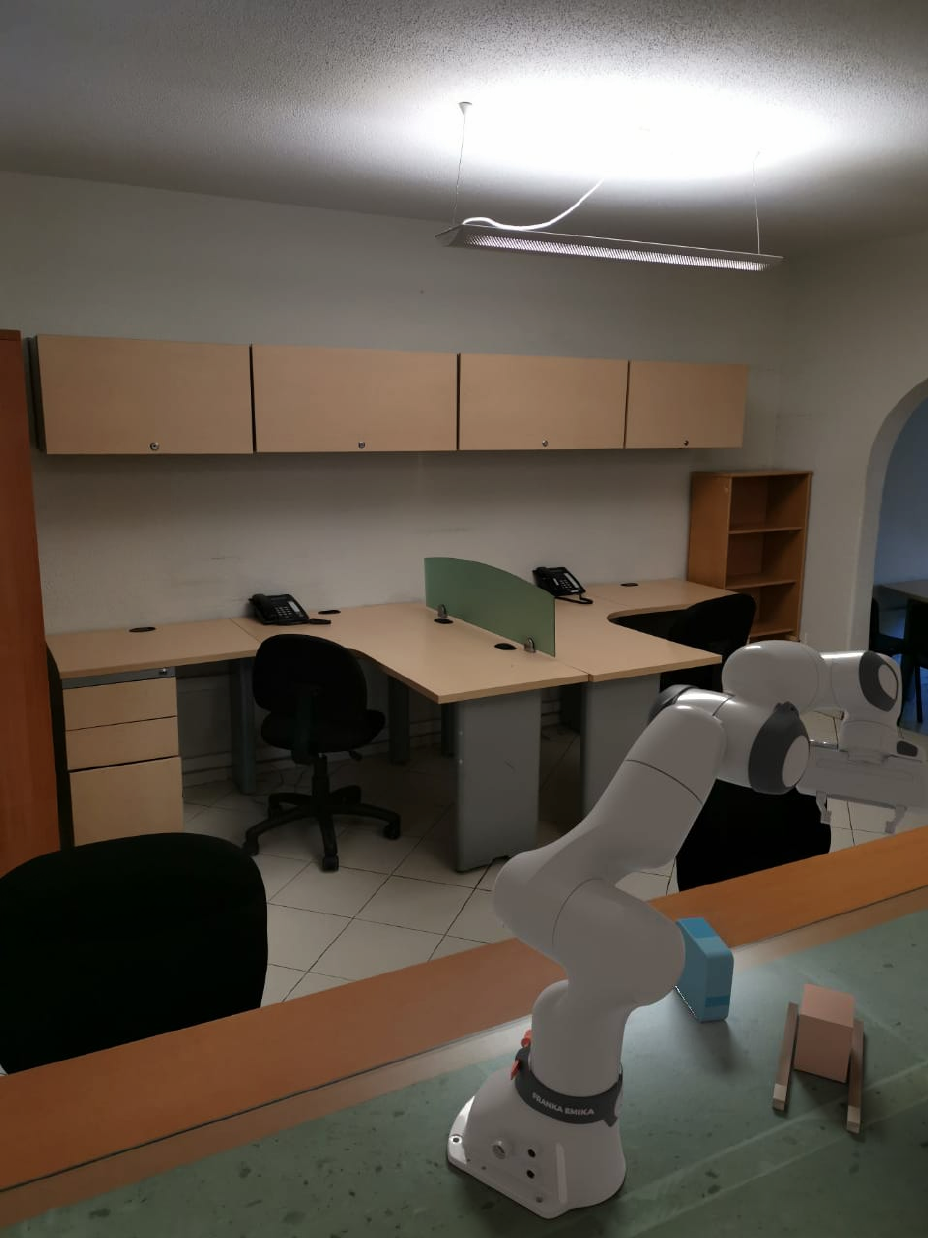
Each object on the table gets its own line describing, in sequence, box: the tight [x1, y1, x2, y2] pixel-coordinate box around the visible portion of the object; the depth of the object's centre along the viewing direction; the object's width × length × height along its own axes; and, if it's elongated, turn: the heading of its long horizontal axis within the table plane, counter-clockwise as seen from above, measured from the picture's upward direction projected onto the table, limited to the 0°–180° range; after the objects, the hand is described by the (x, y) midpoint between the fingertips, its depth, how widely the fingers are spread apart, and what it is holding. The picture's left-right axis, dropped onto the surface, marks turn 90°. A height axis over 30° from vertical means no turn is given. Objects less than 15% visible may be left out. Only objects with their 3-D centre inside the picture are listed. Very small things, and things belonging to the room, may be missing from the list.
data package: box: [674, 916, 735, 1023], centre depth 149 cm, size 12×4×12 cm, turn 12°
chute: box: [771, 1001, 865, 1134], centre depth 136 cm, size 11×23×2 cm, turn 156°
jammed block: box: [793, 982, 856, 1084], centre depth 136 cm, size 7×8×9 cm
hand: (857, 828), depth 148 cm, fingers open, 8 cm apart
